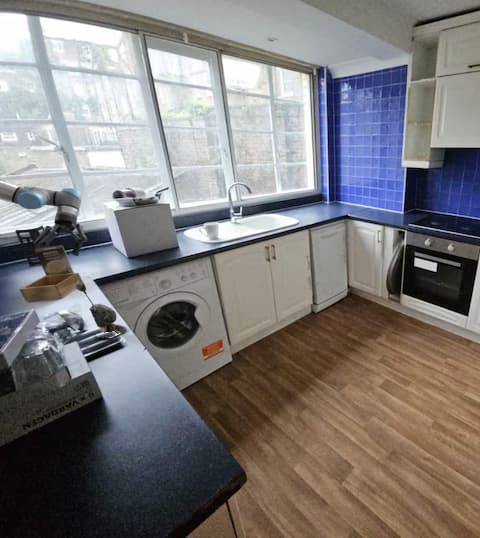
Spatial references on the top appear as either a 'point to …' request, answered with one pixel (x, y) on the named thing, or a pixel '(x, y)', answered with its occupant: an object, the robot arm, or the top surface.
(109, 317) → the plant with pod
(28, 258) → the holder
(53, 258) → the coffee box
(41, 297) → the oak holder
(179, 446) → the top surface
